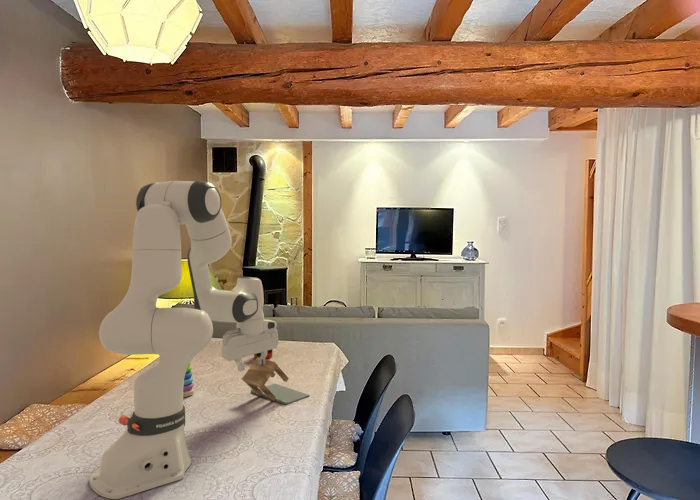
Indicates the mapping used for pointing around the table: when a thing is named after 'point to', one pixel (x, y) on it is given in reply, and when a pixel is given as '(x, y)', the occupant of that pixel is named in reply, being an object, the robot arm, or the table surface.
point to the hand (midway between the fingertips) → (251, 367)
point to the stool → (262, 377)
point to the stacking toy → (188, 383)
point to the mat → (283, 394)
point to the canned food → (269, 355)
